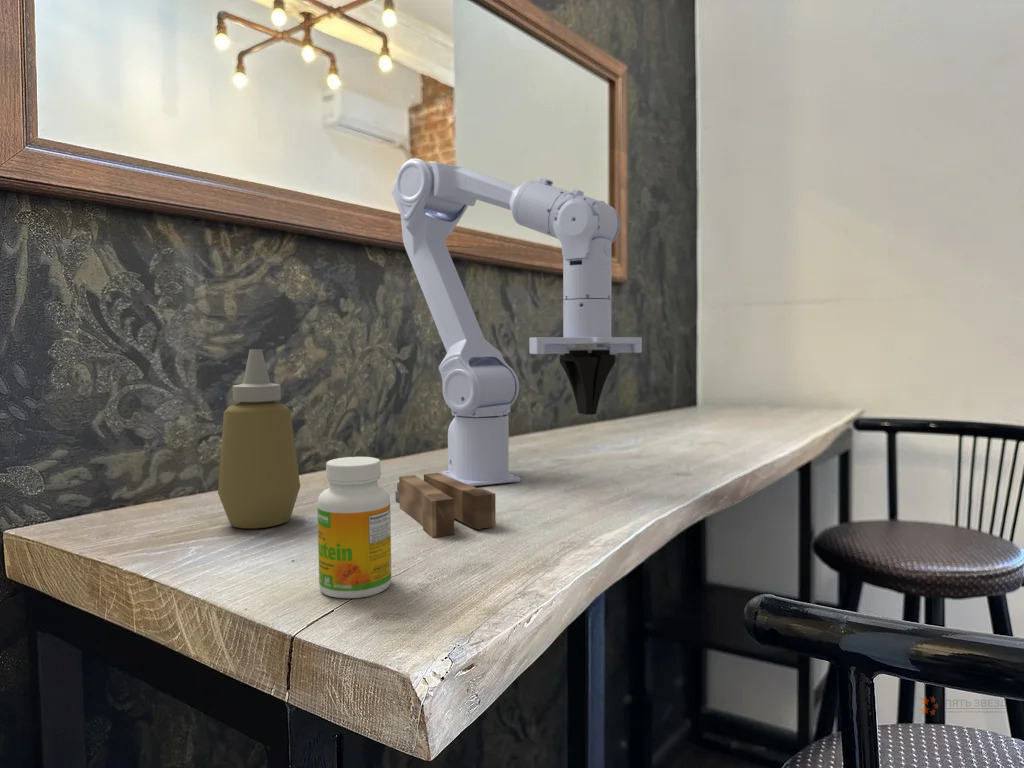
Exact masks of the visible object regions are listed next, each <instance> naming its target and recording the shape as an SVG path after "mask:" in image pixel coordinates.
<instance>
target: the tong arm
mask: <svg viewBox="0 0 1024 768" xmlns="http://www.w3.org/2000/svg"><path fill="white" fill-rule="evenodd" d="M423 481H425V482H427V483H428V484H430V485H432V486H433V487H435V488H437V489H438V490H440V491H442V492H443V493H445V494H447V495H448V496H450V497H452V498H453V499H454V520H457V521H458V522H461V523H463V524H465V525H467V526H468V527H471V528H472V529H475V530H481V529H486V528H493V527H496V526H497V525H496V521H497V520H496V514H497V513H496V493H495V492H493V491H489V490H488V489H484V488H482V487H479V488H477V487H476V486H470V485H468V484H465V483H463V482H460V481H458V480H455V479H453V478H450V477H447V476H445V475H442V473H440V472H434V473H425V474H423ZM397 490H398V491H399V481H398V482H397V483H396V491H397Z"/></svg>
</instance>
